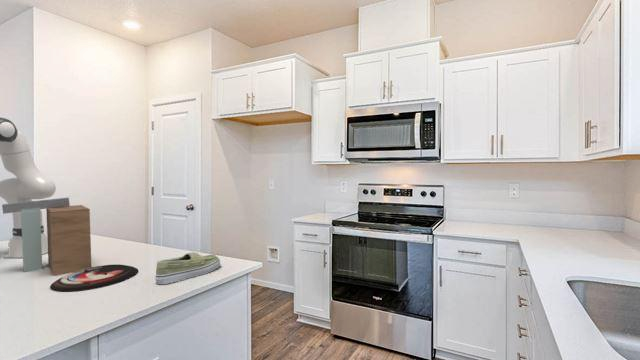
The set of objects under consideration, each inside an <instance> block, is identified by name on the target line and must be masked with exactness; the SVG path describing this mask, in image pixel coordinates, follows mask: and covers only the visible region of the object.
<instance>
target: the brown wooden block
mask: <svg viewBox="0 0 640 360" xmlns="http://www.w3.org/2000/svg"><path fill="white" fill-rule="evenodd" d="M90 211H91V210H90V208H89V207H86V206H84V205H83V204H79V205H78V204H77V205H70V206H64V207H56V208H47V209H46V212H45V213H46V236H47V239H48V253H47V257H48V258H47V260H48V261H47V262H48V267H49V269H50V271H51V274H52V276H60V275H67V274H70V273H72V272H75V271H78V270H82V269H86V268H91V267H92V242H91V241H92V240H91V239H92V238H91V214H90V213H91V212H90Z"/></svg>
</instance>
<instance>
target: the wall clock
mask: <svg viewBox="0 0 640 360" xmlns="http://www.w3.org/2000/svg"><path fill="white" fill-rule="evenodd" d="M138 272H139V269H138V268H137V267H134V266H131V265H126V264H105V265H98V266H91V268H86V269H82V270H78V271H75V272H72V273H66V274H64V276H62V277H60V278H58V279H55V280H54V282H52V283H51V284H50V287H49V288H50V289H51V290H52V291H54V292H55V291H56V292H62V293H71V292H81V291H82V292H83V291H88V290H89V291H90V290H95V289H99V288H104V287H105V288H106V287H108V286H112V285H115V284H118V283H122V282H124V281H127V280H129V279H131V278H132V277H134V276H135V275H137V274H138Z"/></svg>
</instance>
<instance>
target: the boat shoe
mask: <svg viewBox="0 0 640 360" xmlns="http://www.w3.org/2000/svg"><path fill="white" fill-rule="evenodd" d="M220 266H221V259H220V257H219V256H217V255H216V254H209V255H201V254H200V253H198V252H187V253H185V254H183V256H179V257H172V258H167V259H160V260H158V261H156V270H155V276H154V277H155V279H154V280H155V282H156V284H157V285H169V284H174V283H177V282H181V281H185V280H187V279H191V278H195V277H200V276H203V275H206V274H207V275H208V274H209V273H212V272H214V271H216V270H217V269H218V268H219V267H220Z"/></svg>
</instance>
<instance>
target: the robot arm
mask: <svg viewBox="0 0 640 360" xmlns="http://www.w3.org/2000/svg"><path fill="white" fill-rule="evenodd" d="M0 158H1V161H2V164H3V167H4V169H5V170H6V171H7V172H9V173H11V174H12V175H14V176H15V177H12V178H11V177H10V178H5V179H3V180H1V181H0V198H2V199H3V200H4V201H5V202H6V204H11V203H20V202H30V201H33V200H45V199H47V198H49V199H50V198H52V197H53V196H54V194H55V193H56V191H57V190H56V189H57V186H56V183H55V182H54V180H52V179H50V178H48V177H47V176H45V174H43V172H41V171H40V170H39V168H38V167H37V165H36V164H35V162H34V159H33V156H32V152H31V149H30V146H29V144H28V141H27V139H26V137H25V136H24V133H23V132H22V131H21V130H19V129H18V128H17V126H16V125H15V123H14V122H13V121H11V120H10V119H9V118H4V117H0ZM11 214H12V221H13V228H12V231H11V234H12V237H11V238H10V239H9V240H8V244H7V245H8V249H7V250H8V252H7V253H6V254H5V255H3V258H4V259H10V258H14V259H16V258H19V259H20V258H22V259H23V248H22V224H21V212H13V213H11ZM40 220H41V245H42V255H44V254H48V239H47V234H45V228H44V227H45V225H43V211H42V209H40Z"/></svg>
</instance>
